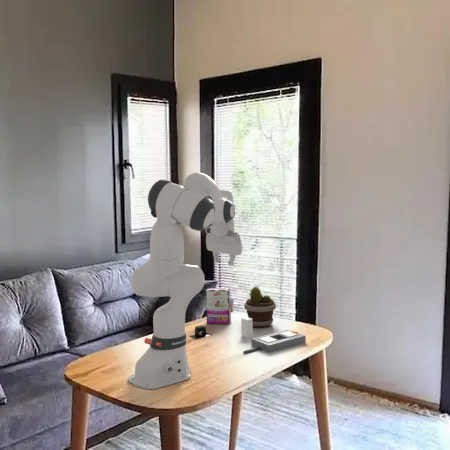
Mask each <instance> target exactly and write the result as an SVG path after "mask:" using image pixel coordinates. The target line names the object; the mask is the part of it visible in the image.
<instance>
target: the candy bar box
mask: <svg viewBox="0 0 450 450" xmlns="http://www.w3.org/2000/svg"><path fill="white" fill-rule="evenodd" d="M205 302H206V304H205V306H206V307H205V309H206V310H205V311H206V324H207V325H230V324H231V323H232V309H231V307H232V306H231V303H232V302H231V288H226V287H225V288H224V287H223V288H222V287H221V288H219V287H217V288H216V287H215V288H214V287H213V288H212V287H211V288H210V287H209V288H207V289H205Z"/></svg>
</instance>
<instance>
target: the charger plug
mask: <svg viewBox="0 0 450 450" xmlns="http://www.w3.org/2000/svg"><path fill="white" fill-rule="evenodd" d="M240 319H241V320H240V321H241V327H240V328H241V331H240V332H241V337H244V338H245V339H249V338H250V339H251V338H254V337H253V334H254V333H253V332H254V331H253V328H254V327H253V324H252V318H248V316H245V317H241V318H240Z"/></svg>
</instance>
